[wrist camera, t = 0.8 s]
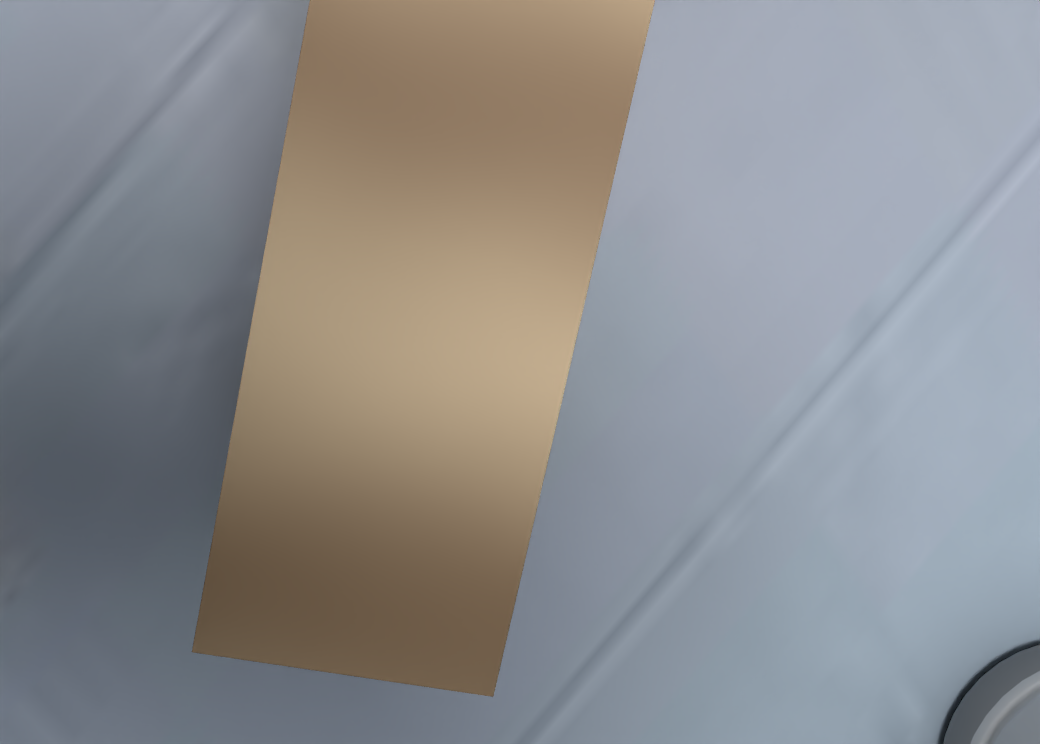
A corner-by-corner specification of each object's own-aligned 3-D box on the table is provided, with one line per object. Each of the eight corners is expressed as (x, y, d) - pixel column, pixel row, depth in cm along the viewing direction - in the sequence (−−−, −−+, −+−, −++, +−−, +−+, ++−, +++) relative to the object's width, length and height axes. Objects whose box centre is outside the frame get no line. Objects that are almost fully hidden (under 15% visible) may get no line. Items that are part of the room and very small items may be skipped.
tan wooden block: (454, 483, 23) (492, 696, 13) (282, 452, 23) (191, 652, 13) (569, -43, 21) (711, -241, 12) (385, -93, 21) (372, -345, 11)
